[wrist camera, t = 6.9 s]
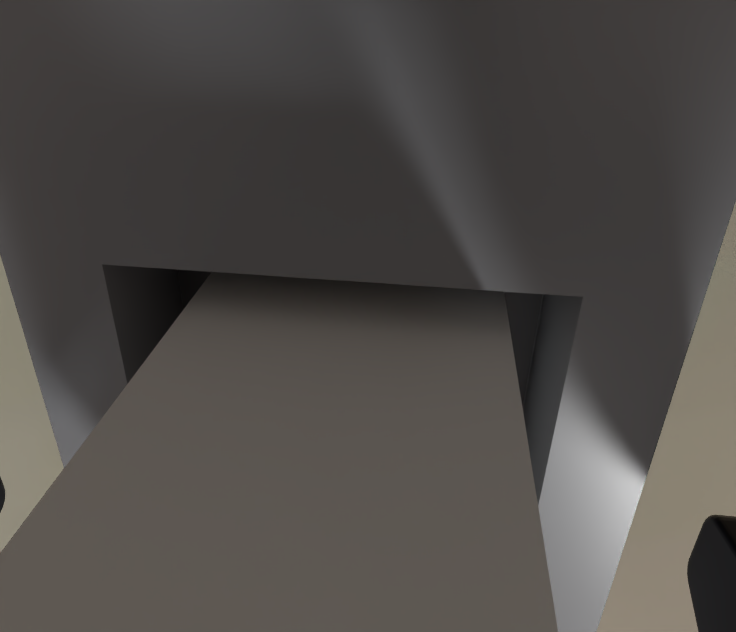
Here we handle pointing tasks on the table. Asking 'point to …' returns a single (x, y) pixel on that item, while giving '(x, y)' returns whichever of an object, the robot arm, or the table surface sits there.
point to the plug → (299, 475)
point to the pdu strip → (384, 198)
